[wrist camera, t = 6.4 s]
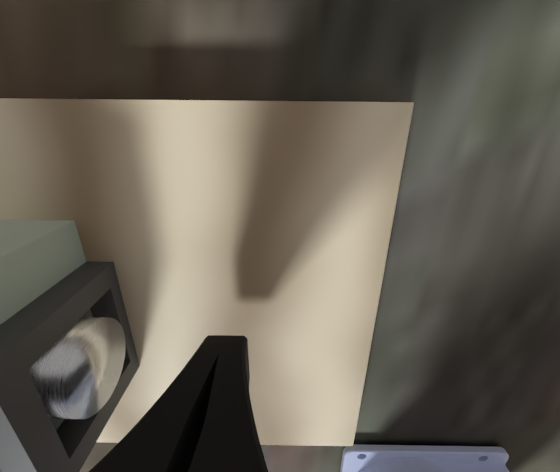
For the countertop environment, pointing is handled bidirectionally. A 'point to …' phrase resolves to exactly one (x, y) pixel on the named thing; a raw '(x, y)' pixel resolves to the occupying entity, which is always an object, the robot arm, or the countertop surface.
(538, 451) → the countertop surface
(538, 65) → the countertop surface
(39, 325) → the collar block
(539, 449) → the countertop surface
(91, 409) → the steel peg
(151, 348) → the maple board
